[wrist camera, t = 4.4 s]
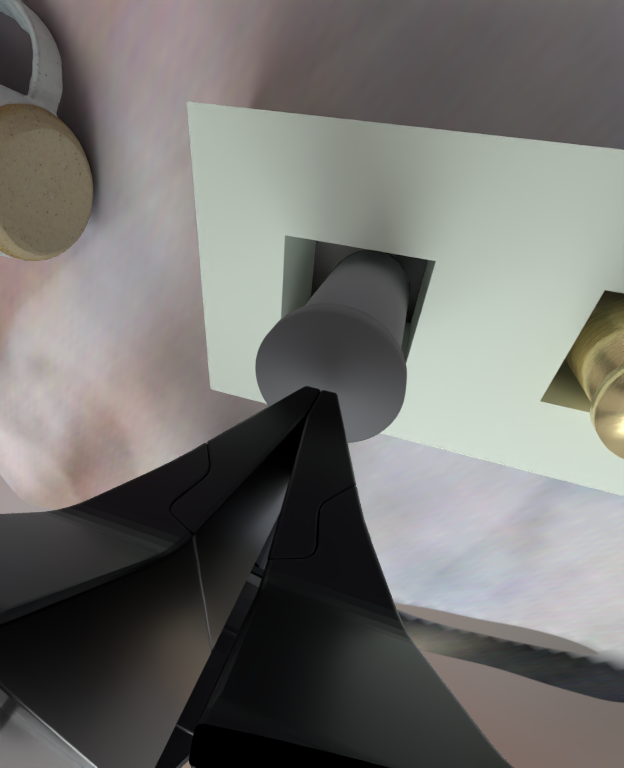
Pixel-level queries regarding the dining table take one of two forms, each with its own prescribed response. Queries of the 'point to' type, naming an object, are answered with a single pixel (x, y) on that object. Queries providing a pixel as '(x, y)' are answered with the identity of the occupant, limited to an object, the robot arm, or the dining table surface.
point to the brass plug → (603, 368)
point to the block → (442, 274)
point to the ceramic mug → (39, 157)
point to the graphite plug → (345, 344)
